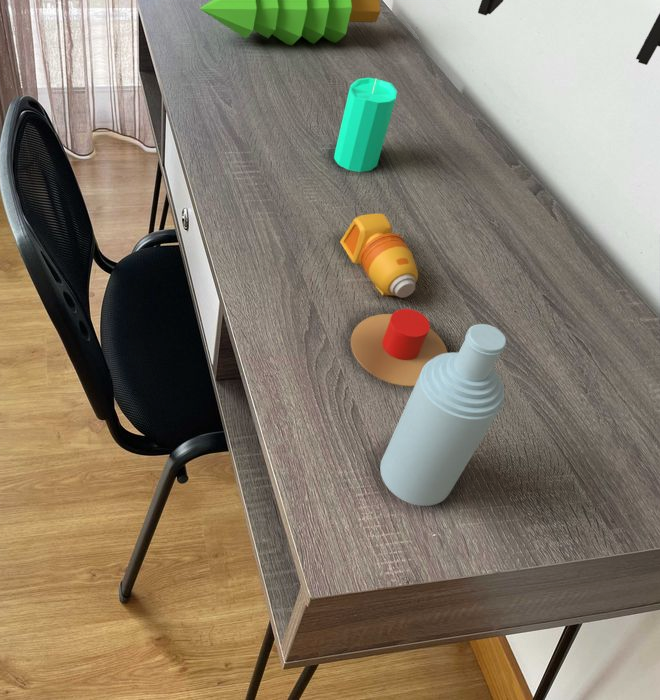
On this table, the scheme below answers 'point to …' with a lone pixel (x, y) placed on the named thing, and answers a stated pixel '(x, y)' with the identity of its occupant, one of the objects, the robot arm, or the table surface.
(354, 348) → the coaster
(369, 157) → the candle
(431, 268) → the table surface
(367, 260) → the yellow plastic toy
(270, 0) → the decorative tree
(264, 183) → the table surface
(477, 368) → the bottle
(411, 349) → the cap
